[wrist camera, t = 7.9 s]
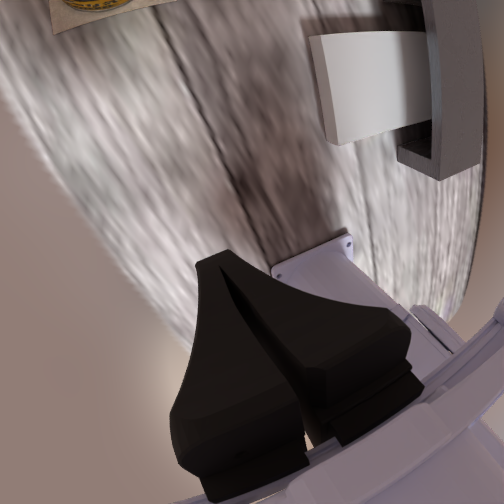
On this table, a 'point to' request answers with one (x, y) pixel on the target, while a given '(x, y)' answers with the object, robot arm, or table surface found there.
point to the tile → (371, 82)
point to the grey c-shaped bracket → (450, 90)
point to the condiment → (91, 11)
